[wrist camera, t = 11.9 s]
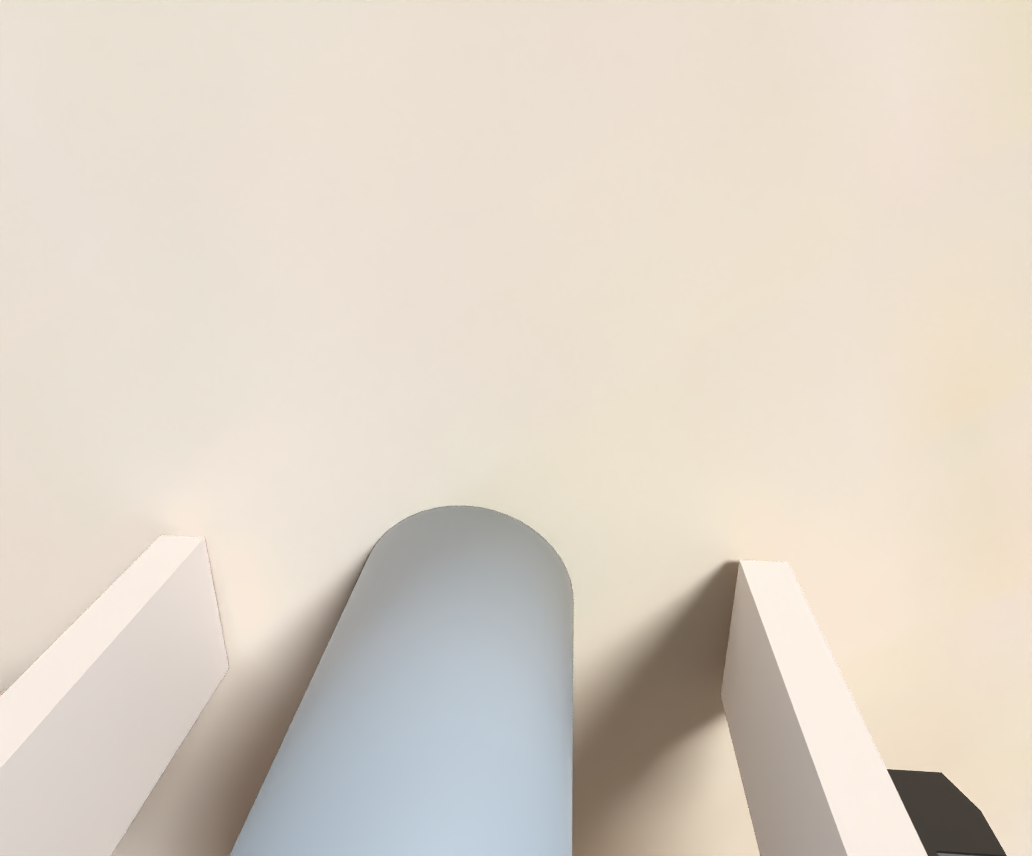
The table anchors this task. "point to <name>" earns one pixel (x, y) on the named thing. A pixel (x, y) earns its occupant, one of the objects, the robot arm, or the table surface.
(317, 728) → the marker peg
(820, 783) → the robot arm
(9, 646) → the table surface
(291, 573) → the table surface
